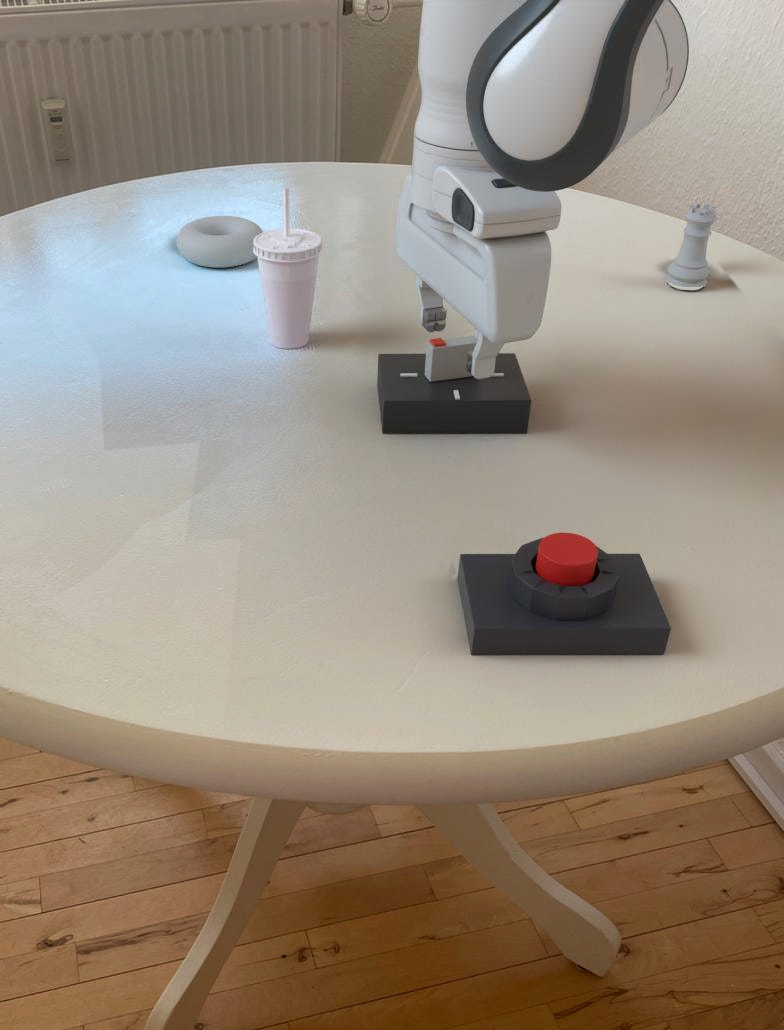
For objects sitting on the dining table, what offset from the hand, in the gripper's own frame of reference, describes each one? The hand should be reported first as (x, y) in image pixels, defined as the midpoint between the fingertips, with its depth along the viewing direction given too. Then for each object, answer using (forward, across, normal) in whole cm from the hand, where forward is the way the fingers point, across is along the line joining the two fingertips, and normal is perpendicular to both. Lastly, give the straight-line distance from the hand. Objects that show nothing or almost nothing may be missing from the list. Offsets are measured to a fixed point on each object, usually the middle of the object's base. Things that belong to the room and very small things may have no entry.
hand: (455, 350), depth 88 cm
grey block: (+2, 0, 0) cm, 2 cm away
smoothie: (+5, -18, -9) cm, 21 cm away
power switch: (+5, +29, -5) cm, 30 cm away
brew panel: (+5, 0, 0) cm, 5 cm away
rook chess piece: (+6, -18, +35) cm, 40 cm away
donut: (+5, -42, -9) cm, 43 cm away
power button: (+2, +29, -5) cm, 29 cm away
